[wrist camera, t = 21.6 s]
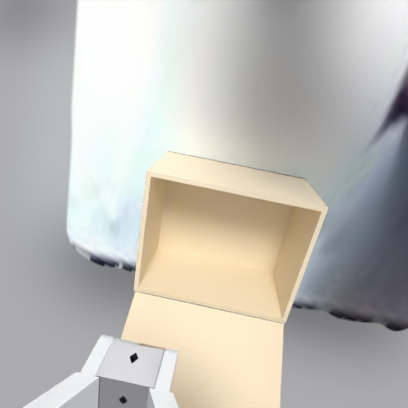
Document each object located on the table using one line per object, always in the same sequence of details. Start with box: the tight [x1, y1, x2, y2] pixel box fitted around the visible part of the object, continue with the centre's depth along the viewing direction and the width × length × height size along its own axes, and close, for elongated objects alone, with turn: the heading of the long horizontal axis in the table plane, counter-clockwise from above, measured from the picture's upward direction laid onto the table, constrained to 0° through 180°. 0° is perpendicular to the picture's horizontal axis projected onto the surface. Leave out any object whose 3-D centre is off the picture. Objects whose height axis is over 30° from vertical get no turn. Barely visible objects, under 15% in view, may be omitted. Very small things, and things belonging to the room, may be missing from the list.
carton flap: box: [121, 292, 284, 408], centre depth 37 cm, size 14×21×1 cm
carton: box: [134, 151, 328, 323], centre depth 44 cm, size 18×22×12 cm
